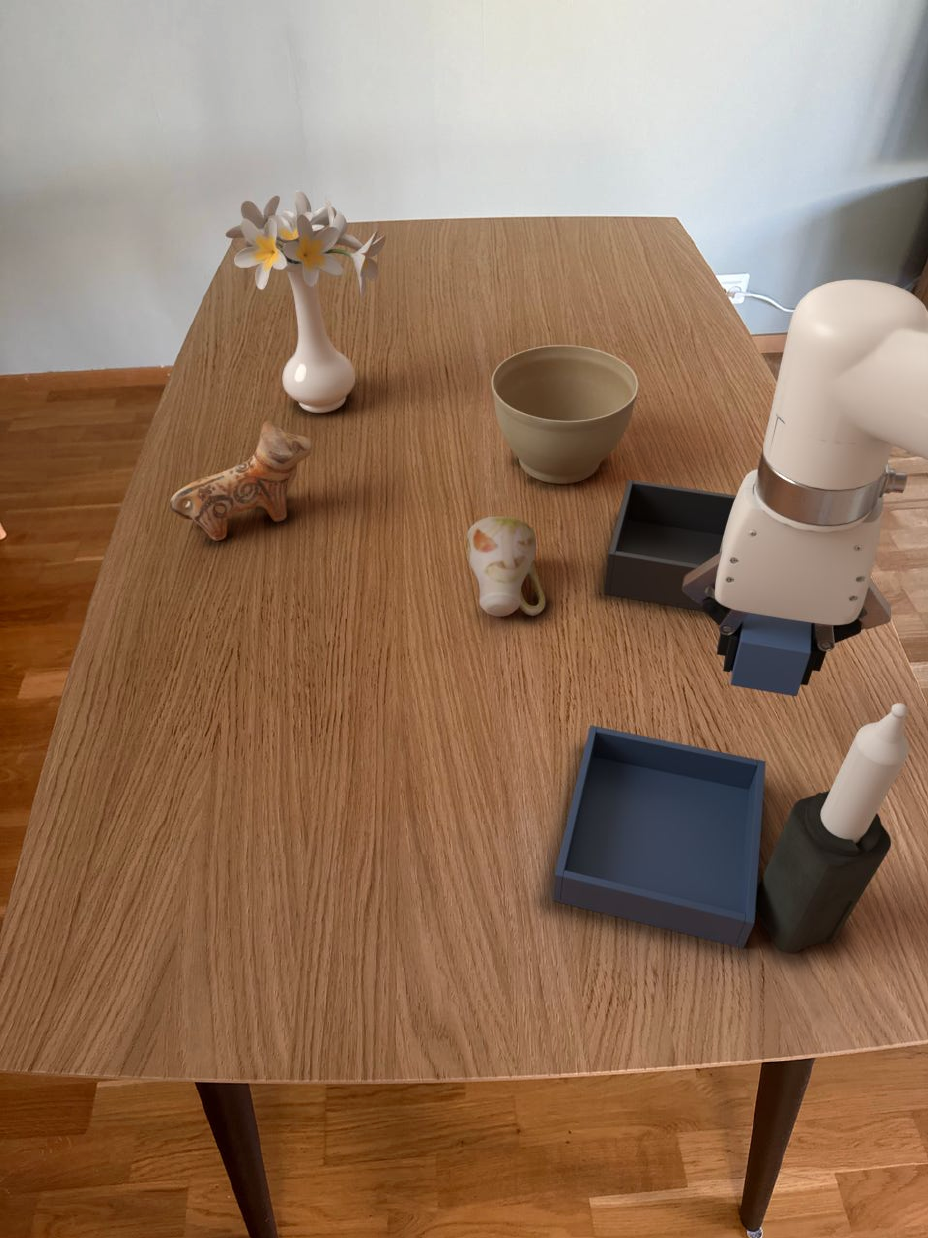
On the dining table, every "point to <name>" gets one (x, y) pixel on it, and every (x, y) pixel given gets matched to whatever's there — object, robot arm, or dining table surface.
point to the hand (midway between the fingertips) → (765, 663)
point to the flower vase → (306, 288)
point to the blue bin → (664, 836)
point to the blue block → (772, 654)
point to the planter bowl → (563, 409)
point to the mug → (503, 564)
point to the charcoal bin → (664, 541)
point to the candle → (833, 842)
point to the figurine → (245, 483)
